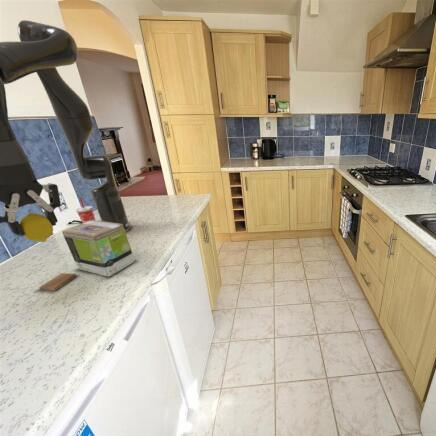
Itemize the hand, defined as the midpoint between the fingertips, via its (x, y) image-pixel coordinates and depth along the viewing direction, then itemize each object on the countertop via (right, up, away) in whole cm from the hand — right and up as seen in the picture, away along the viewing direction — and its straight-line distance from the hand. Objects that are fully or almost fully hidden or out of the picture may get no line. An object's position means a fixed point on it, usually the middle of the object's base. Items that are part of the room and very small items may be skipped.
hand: (37, 229), depth 61 cm
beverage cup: (-31, -1, +54) cm, 63 cm away
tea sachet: (-9, -17, +14) cm, 24 cm away
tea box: (0, -14, +23) cm, 27 cm away
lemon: (0, -3, +1) cm, 4 cm away
